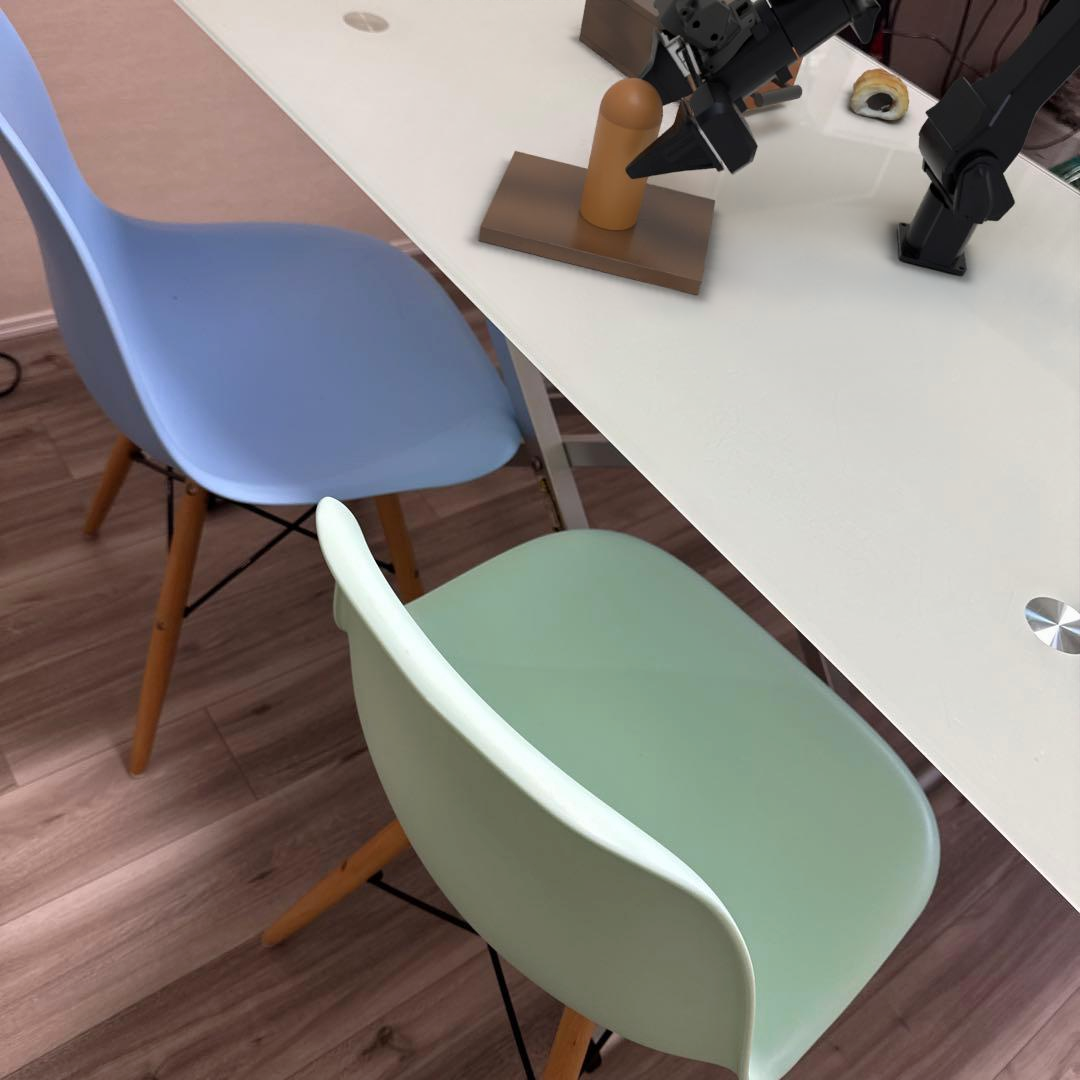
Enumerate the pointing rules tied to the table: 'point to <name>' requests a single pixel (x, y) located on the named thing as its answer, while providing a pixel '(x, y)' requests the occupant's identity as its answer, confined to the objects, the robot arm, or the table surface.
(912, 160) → the table surface
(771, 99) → the drawer
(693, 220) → the board
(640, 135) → the dome-topped orange cylinder
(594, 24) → the cabinet
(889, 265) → the table surface
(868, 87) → the pastry
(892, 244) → the table surface
